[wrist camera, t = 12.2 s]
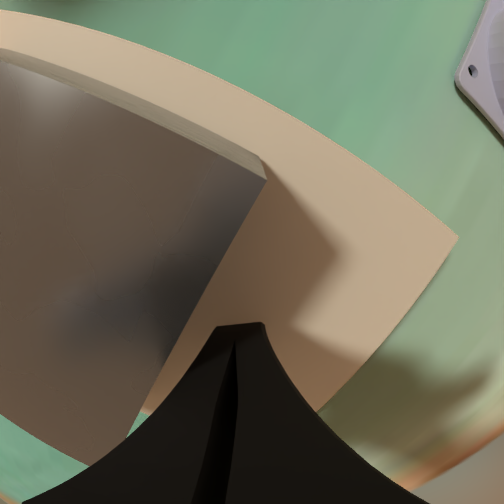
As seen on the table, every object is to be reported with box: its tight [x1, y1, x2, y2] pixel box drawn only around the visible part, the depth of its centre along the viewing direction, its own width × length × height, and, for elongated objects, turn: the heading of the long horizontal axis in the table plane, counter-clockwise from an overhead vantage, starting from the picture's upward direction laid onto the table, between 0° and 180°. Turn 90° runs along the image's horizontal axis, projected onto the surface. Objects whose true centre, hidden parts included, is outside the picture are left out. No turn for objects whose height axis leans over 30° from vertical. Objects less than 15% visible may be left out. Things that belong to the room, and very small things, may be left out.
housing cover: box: [0, 48, 267, 466], centre depth 6 cm, size 9×9×4 cm
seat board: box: [0, 10, 459, 415], centre depth 10 cm, size 12×20×2 cm, turn 61°
